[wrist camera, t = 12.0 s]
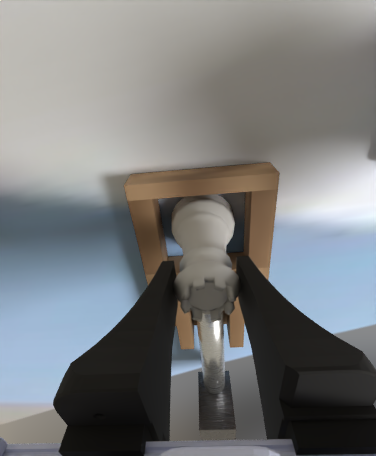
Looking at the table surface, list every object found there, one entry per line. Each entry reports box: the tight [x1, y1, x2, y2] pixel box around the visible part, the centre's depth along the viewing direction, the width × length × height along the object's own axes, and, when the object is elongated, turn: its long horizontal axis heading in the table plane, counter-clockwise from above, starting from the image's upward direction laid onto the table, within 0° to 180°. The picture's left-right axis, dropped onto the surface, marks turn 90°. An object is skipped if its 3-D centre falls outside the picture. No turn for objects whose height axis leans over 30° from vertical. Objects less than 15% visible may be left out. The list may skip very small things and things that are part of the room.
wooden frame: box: [124, 162, 279, 349], centre depth 17 cm, size 9×13×4 cm
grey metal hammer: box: [197, 311, 236, 440], centre depth 20 cm, size 3×14×5 cm, turn 5°
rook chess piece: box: [171, 194, 241, 322], centre depth 14 cm, size 4×4×8 cm
